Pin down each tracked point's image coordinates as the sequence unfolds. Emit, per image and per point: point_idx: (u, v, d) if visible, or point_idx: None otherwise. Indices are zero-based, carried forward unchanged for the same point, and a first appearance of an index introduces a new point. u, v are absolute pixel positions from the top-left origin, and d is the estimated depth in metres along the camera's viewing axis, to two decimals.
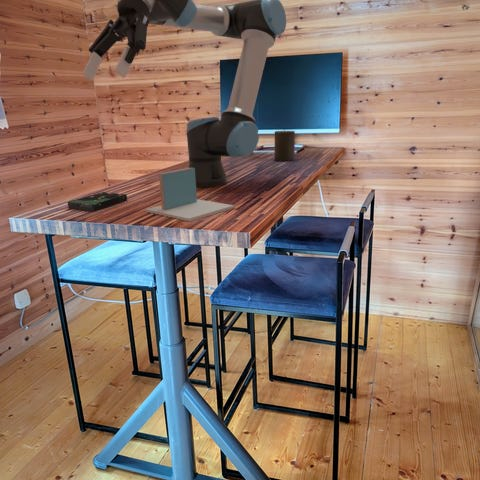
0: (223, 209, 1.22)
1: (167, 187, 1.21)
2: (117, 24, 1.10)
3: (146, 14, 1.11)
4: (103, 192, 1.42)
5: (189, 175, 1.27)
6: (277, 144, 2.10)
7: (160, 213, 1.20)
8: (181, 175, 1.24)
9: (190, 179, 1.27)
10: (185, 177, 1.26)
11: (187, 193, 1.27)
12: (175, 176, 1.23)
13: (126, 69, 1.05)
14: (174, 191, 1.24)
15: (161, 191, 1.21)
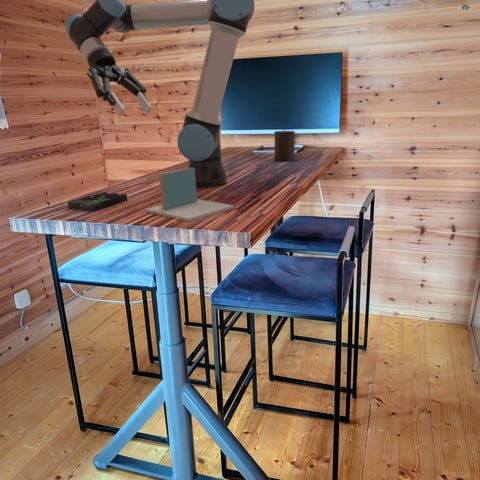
0: (223, 209, 1.22)
1: (167, 187, 1.21)
2: None
3: (94, 57, 1.31)
4: (103, 192, 1.42)
5: (189, 175, 1.27)
6: (277, 144, 2.10)
7: (160, 213, 1.20)
8: (181, 175, 1.24)
9: (190, 179, 1.27)
10: (185, 177, 1.26)
11: (187, 193, 1.27)
12: (175, 176, 1.23)
13: (118, 105, 1.26)
14: (174, 191, 1.24)
15: (161, 191, 1.21)
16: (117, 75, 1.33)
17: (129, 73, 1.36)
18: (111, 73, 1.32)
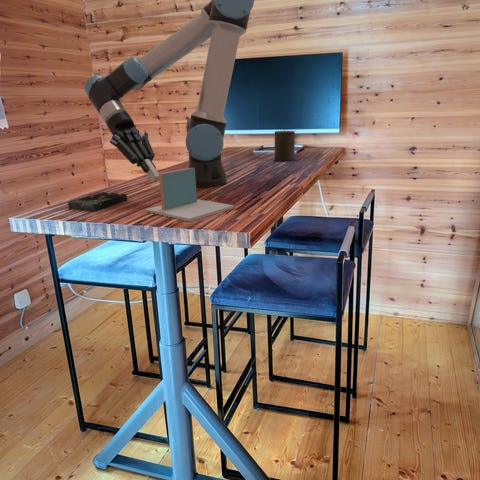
0: (223, 209, 1.22)
1: (167, 187, 1.21)
2: None
3: (113, 121, 1.31)
4: (103, 192, 1.42)
5: (189, 175, 1.27)
6: (277, 144, 2.10)
7: (160, 213, 1.20)
8: (181, 175, 1.24)
9: (190, 179, 1.27)
10: (185, 177, 1.26)
11: (187, 193, 1.27)
12: (175, 176, 1.23)
13: (152, 172, 1.29)
14: (174, 191, 1.24)
15: (161, 191, 1.21)
16: None
17: (146, 137, 1.36)
18: None
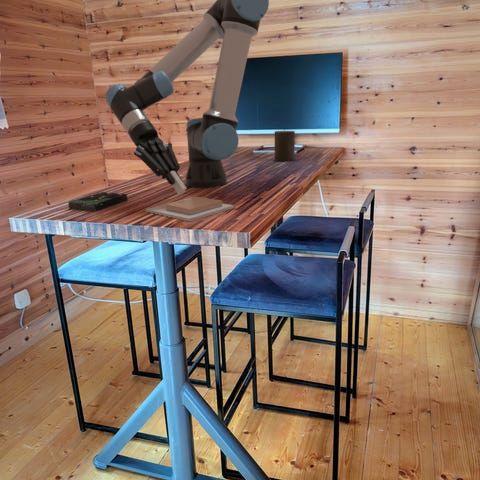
0: (223, 209, 1.22)
1: None
2: None
3: (137, 131, 1.26)
4: (102, 192, 1.42)
5: None
6: (277, 144, 2.10)
7: (160, 213, 1.20)
8: None
9: None
10: None
11: None
12: None
13: (178, 185, 1.24)
14: None
15: (178, 208, 1.19)
16: None
17: (170, 148, 1.31)
18: None
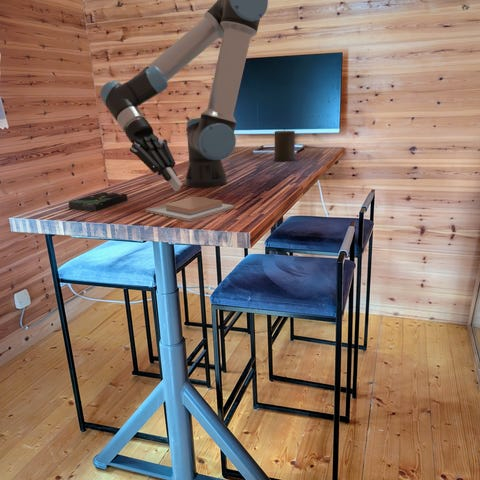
0: (223, 209, 1.22)
1: None
2: None
3: (132, 128, 1.27)
4: (102, 192, 1.42)
5: None
6: (277, 144, 2.10)
7: (160, 213, 1.20)
8: None
9: None
10: None
11: None
12: None
13: (174, 181, 1.25)
14: None
15: (178, 208, 1.19)
16: None
17: (165, 145, 1.32)
18: None
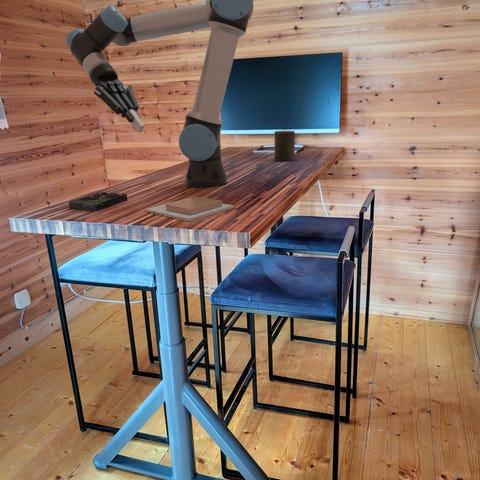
0: (223, 209, 1.22)
1: None
2: None
3: (96, 72, 1.31)
4: (102, 192, 1.42)
5: None
6: (277, 144, 2.10)
7: (160, 213, 1.20)
8: None
9: None
10: None
11: None
12: None
13: (136, 122, 1.29)
14: None
15: (178, 208, 1.19)
16: None
17: (130, 90, 1.36)
18: None
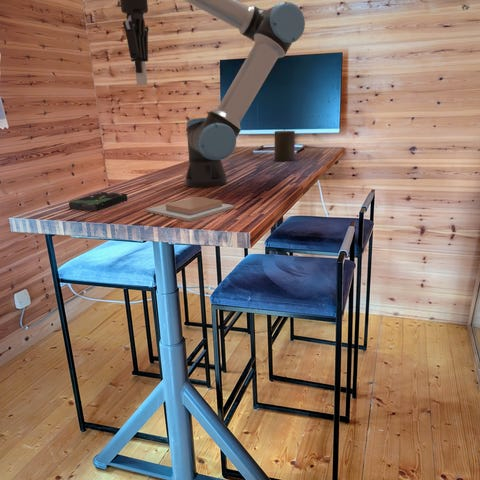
0: (223, 209, 1.22)
1: None
2: None
3: (135, 3, 1.24)
4: (102, 192, 1.42)
5: None
6: (277, 144, 2.10)
7: (160, 213, 1.20)
8: None
9: None
10: None
11: None
12: None
13: (143, 78, 1.32)
14: None
15: (178, 208, 1.19)
16: (141, 31, 1.30)
17: (146, 34, 1.33)
18: None
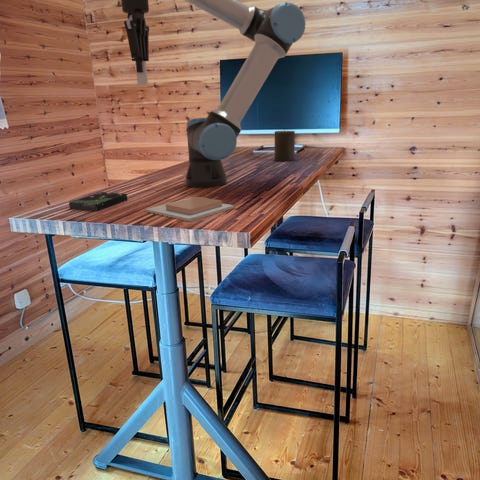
0: (223, 209, 1.22)
1: None
2: None
3: (136, 2, 1.23)
4: (102, 192, 1.42)
5: None
6: (277, 144, 2.10)
7: (160, 213, 1.20)
8: None
9: None
10: None
11: None
12: None
13: (143, 77, 1.32)
14: None
15: (178, 208, 1.19)
16: (142, 31, 1.30)
17: (147, 33, 1.33)
18: None
